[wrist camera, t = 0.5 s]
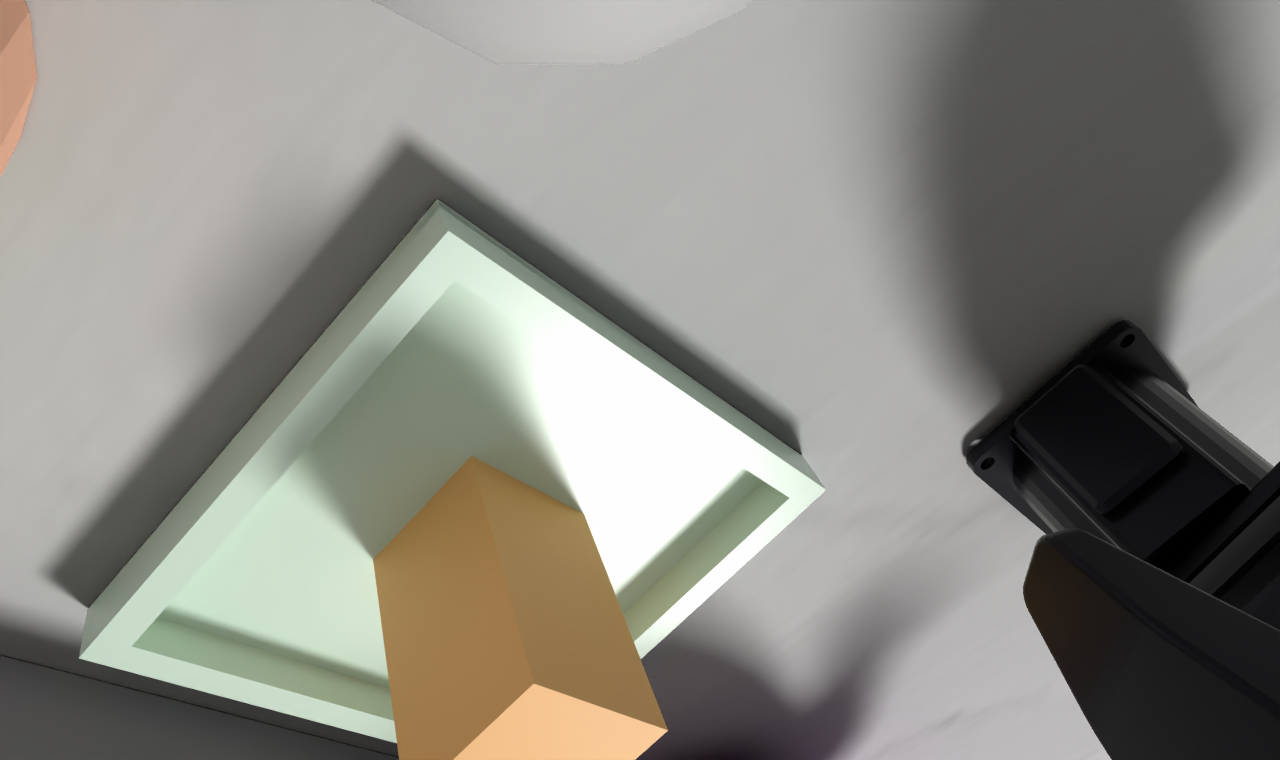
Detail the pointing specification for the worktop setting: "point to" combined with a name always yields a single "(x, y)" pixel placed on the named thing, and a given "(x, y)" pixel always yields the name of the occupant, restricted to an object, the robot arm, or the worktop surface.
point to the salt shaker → (564, 26)
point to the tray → (437, 480)
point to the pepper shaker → (14, 74)
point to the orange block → (508, 631)
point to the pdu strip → (135, 725)
